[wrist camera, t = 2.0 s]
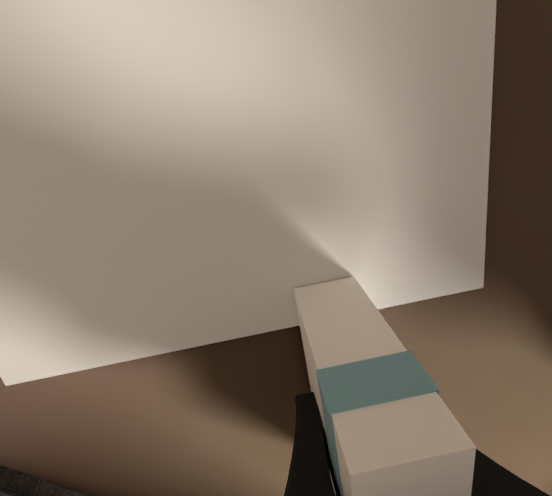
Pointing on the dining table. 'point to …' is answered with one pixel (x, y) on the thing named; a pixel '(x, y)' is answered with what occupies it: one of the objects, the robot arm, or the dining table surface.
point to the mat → (231, 166)
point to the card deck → (377, 401)
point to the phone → (29, 485)
